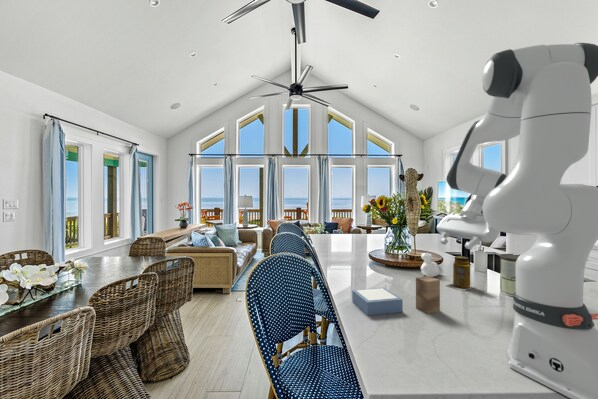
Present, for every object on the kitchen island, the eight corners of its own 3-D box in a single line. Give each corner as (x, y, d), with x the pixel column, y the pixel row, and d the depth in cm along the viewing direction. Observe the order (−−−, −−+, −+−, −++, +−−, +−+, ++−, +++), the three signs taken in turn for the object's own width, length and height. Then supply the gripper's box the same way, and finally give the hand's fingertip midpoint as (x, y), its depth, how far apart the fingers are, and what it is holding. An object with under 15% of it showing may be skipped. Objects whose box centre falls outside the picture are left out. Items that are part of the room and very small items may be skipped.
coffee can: (495, 288, 113) (495, 253, 113) (526, 290, 110) (525, 254, 110) (506, 297, 103) (506, 258, 103) (540, 299, 100) (540, 259, 100)
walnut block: (439, 311, 91) (439, 279, 90) (428, 313, 89) (428, 281, 89) (427, 305, 95) (427, 276, 95) (415, 308, 93) (415, 277, 93)
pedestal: (402, 311, 90) (402, 298, 90) (367, 315, 88) (367, 301, 88) (383, 298, 102) (383, 287, 102) (352, 301, 99) (352, 289, 99)
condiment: (474, 287, 114) (474, 257, 114) (464, 291, 110) (463, 260, 110) (456, 282, 121) (456, 254, 121) (445, 286, 116) (445, 257, 116)
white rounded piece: (435, 277, 136) (422, 256, 142) (448, 270, 131) (433, 249, 137) (421, 282, 129) (408, 259, 135) (434, 274, 124) (419, 252, 130)
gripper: (444, 208, 109) (425, 235, 106) (499, 211, 90) (478, 244, 87) (452, 219, 111) (434, 246, 107) (508, 224, 92) (488, 257, 89)
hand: (454, 245), depth 97 cm, fingers open, 8 cm apart
